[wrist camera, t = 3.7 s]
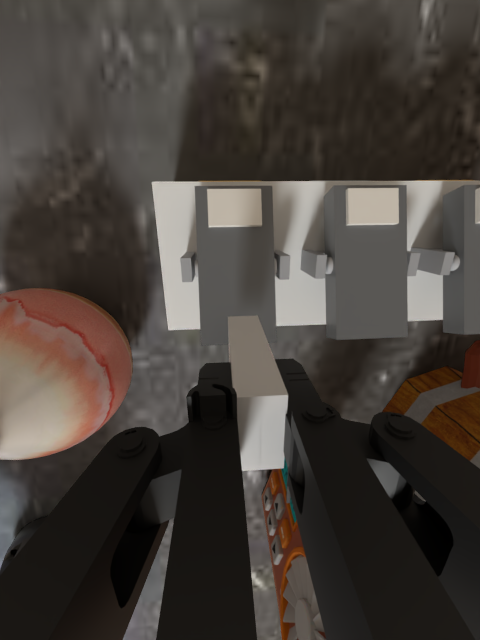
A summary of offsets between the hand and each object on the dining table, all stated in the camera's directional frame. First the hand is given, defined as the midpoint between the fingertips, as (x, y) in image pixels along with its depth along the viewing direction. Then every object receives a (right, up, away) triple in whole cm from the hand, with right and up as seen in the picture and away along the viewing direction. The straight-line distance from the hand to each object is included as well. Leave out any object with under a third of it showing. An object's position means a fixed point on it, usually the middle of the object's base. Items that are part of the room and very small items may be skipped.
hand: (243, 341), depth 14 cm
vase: (-17, -1, +15) cm, 23 cm away
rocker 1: (0, +4, +2) cm, 5 cm away
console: (+7, +8, +13) cm, 17 cm away
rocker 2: (+8, +5, +3) cm, 9 cm away
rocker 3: (+16, +5, +3) cm, 17 cm away
